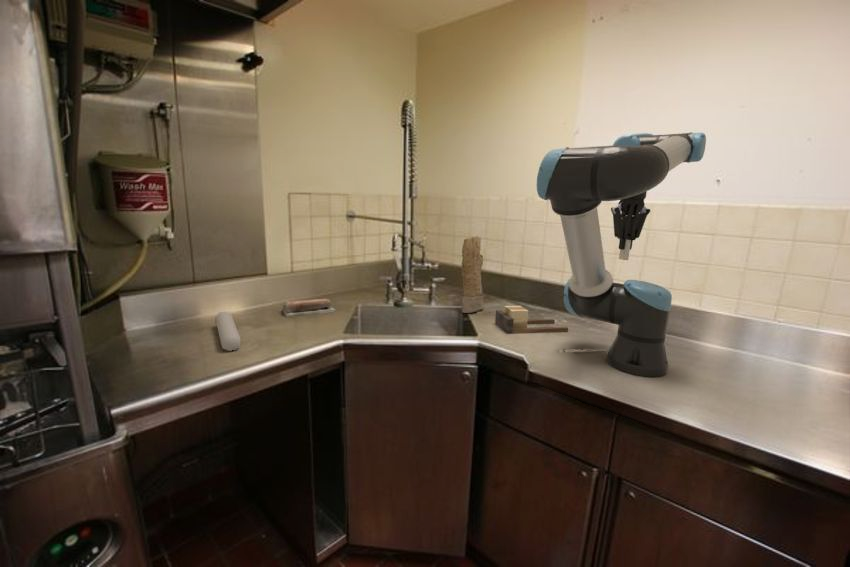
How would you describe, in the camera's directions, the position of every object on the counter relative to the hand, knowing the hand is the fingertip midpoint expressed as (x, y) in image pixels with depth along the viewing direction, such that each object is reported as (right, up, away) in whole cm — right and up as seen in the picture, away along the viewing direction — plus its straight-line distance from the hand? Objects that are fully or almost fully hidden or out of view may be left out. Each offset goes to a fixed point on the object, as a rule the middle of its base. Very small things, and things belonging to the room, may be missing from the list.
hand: (623, 259), depth 131 cm
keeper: (-35, -23, +6) cm, 42 cm away
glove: (-47, -19, +30) cm, 59 cm away
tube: (-125, -25, -11) cm, 128 cm away
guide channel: (-29, -24, +7) cm, 38 cm away
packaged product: (-109, -19, +19) cm, 113 cm away
